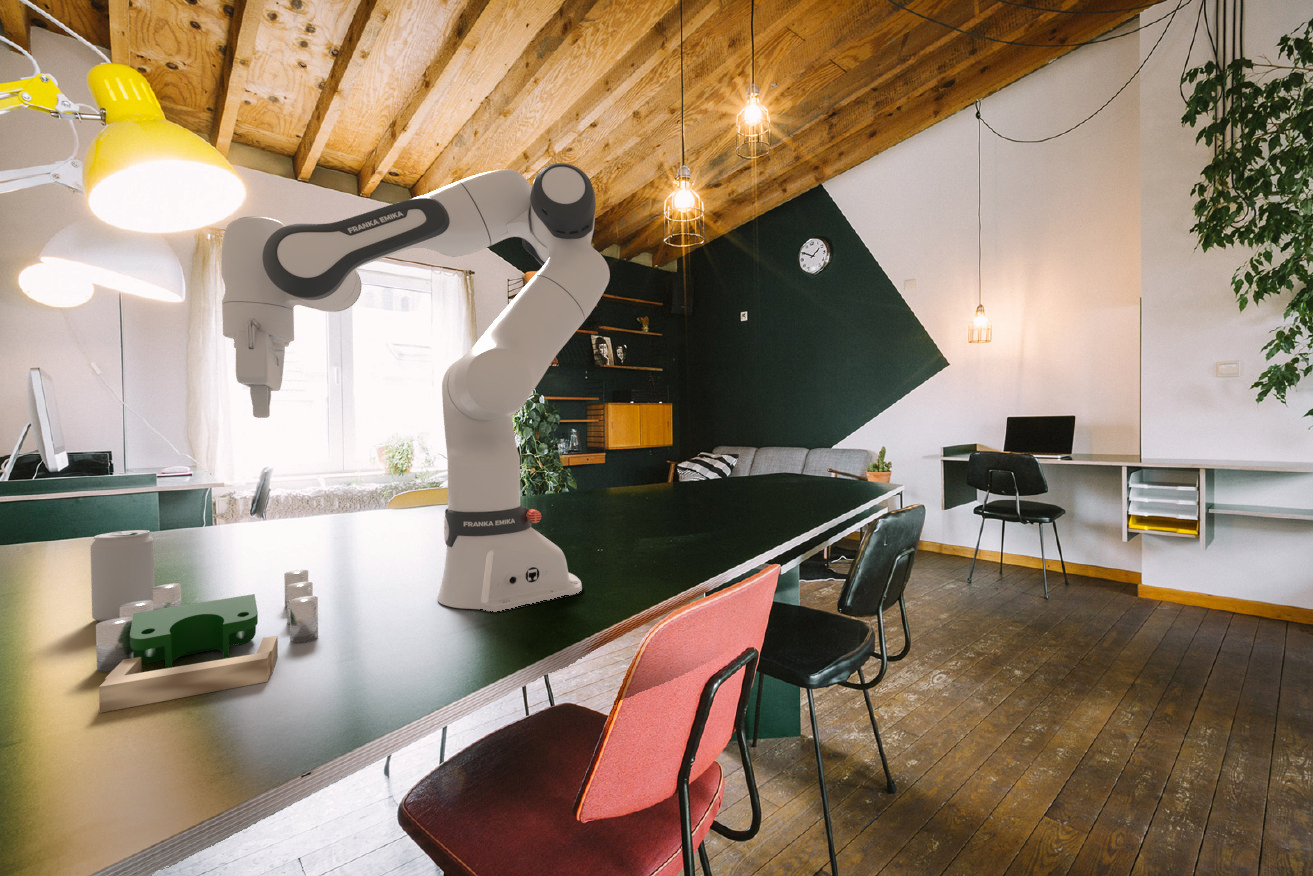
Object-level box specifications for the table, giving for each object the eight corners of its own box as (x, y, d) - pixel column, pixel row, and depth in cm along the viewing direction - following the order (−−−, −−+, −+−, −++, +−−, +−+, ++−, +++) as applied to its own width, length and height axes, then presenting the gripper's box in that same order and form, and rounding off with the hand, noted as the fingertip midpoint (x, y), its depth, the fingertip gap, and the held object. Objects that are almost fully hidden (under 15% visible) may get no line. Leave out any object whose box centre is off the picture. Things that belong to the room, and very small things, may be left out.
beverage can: (115, 626, 74) (113, 538, 73) (79, 623, 75) (77, 536, 75) (166, 610, 80) (165, 529, 80) (132, 608, 81) (130, 528, 81)
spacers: (324, 598, 85) (323, 567, 85) (317, 640, 69) (316, 601, 69) (146, 622, 75) (146, 586, 75) (88, 677, 59) (87, 631, 58)
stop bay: (277, 656, 64) (277, 635, 64) (269, 681, 58) (269, 657, 58) (124, 682, 57) (123, 659, 57) (96, 713, 51) (96, 687, 51)
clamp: (156, 708, 61) (107, 651, 57) (159, 677, 65) (113, 622, 61) (277, 645, 67) (240, 589, 63) (271, 621, 71) (237, 567, 67)
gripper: (277, 317, 76) (280, 416, 76) (289, 338, 93) (291, 418, 94) (220, 313, 73) (223, 416, 73) (243, 335, 90) (245, 418, 91)
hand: (261, 417), depth 84 cm, fingers closed
